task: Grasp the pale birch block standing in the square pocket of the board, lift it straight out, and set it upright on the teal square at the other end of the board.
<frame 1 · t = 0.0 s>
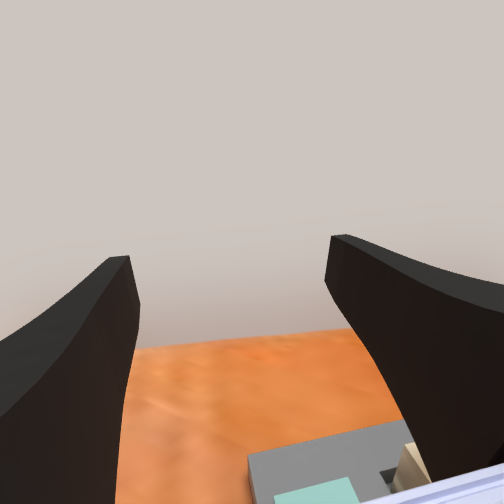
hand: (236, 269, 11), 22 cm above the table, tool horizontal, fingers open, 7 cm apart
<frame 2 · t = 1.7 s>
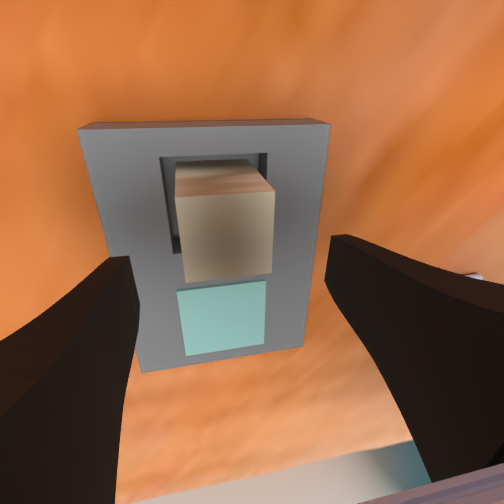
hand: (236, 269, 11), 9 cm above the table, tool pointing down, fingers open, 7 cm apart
pocket board: (216, 248, 20), on the table
birch block: (214, 194, 18), resting on pocket board
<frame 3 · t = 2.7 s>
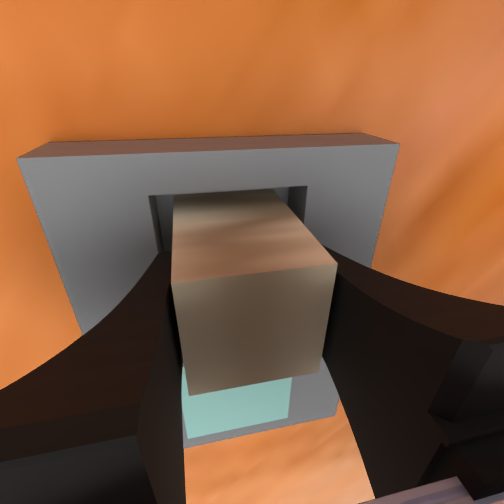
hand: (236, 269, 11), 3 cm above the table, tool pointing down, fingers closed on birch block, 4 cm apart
pocket board: (228, 300, 16), on the table
birch block: (226, 235, 13), resting on pocket board, touching gripper
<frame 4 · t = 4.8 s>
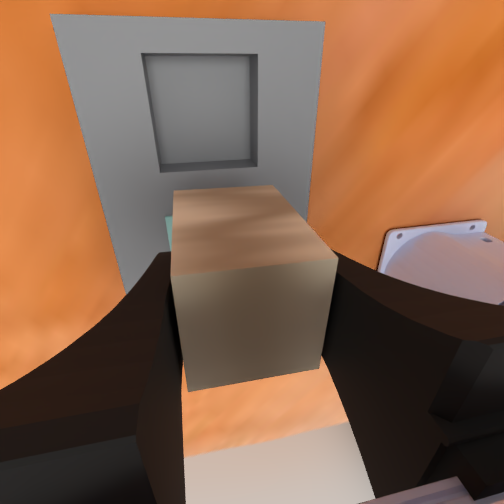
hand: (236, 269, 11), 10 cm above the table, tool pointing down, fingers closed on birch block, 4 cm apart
pocket board: (208, 180, 19), on the table
birch block: (226, 232, 13), point 8 cm above the table, touching gripper
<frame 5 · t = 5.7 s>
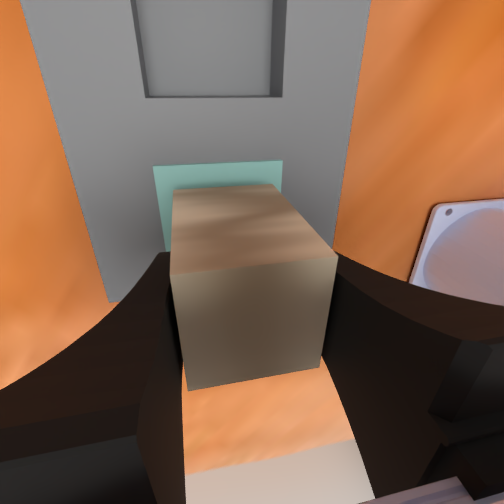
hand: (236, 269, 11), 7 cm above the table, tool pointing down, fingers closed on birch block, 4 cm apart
pocket board: (212, 125, 15), on the table
birch block: (226, 231, 13), point 4 cm above the table, touching gripper
when the fingers open (6 cm above the table, at t = 6.6 s): birch block stays where it is, resting on pocket board.
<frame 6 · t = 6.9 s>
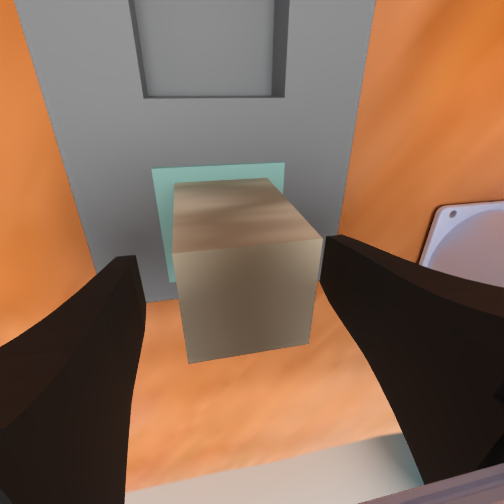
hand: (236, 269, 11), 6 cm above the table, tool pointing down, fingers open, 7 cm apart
pocket board: (212, 126, 14), on the table
birch block: (224, 222, 14), point 3 cm above the table, touching pocket board
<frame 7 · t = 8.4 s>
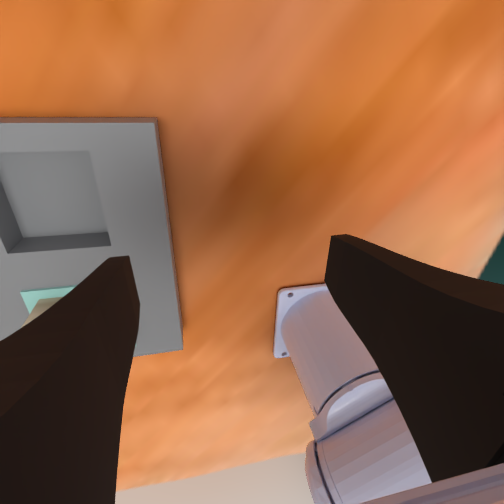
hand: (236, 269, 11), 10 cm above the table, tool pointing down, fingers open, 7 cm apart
pocket board: (79, 248, 20), on the table
birch block: (83, 320, 20), point 3 cm above the table, touching pocket board
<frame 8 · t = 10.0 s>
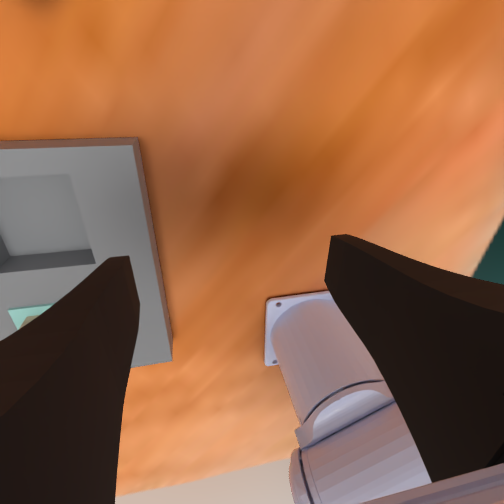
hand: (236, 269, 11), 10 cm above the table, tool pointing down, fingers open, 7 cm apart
pocket board: (66, 265, 20), on the table
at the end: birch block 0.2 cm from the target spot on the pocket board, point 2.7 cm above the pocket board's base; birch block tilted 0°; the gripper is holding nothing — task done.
